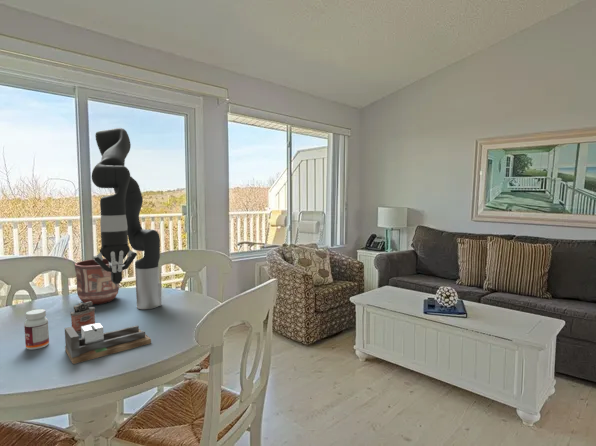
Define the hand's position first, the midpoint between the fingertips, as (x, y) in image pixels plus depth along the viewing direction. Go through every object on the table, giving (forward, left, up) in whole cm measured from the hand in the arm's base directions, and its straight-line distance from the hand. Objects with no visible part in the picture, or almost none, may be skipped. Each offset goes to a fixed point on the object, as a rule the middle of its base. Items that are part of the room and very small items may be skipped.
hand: (116, 283), depth 117 cm
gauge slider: (+8, +1, -18) cm, 20 cm away
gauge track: (+3, 0, -20) cm, 20 cm away
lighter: (+6, -21, -20) cm, 30 cm away
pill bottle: (+20, -16, -20) cm, 33 cm away
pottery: (-7, -57, -20) cm, 61 cm away
